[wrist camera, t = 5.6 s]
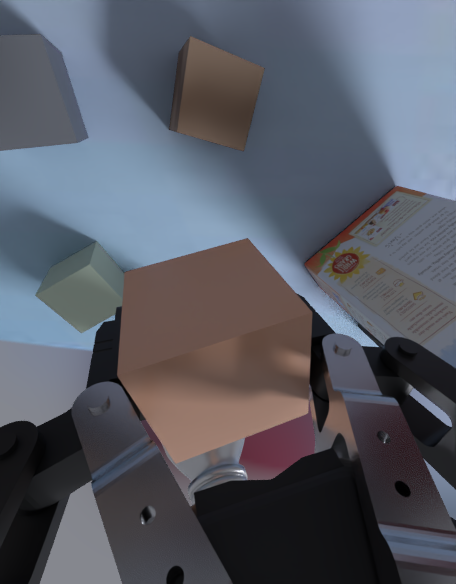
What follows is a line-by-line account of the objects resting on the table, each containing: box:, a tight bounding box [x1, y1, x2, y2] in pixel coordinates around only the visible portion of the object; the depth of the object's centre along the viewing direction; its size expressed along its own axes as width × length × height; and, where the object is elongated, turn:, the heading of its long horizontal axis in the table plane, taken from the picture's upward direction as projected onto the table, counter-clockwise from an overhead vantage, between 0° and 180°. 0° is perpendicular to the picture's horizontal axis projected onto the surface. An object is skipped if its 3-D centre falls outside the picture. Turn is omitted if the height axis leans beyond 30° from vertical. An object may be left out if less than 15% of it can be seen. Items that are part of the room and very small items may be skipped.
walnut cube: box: [169, 36, 265, 151], centre depth 20 cm, size 5×5×5 cm
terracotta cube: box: [117, 238, 312, 464], centre depth 10 cm, size 5×5×5 cm
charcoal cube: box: [0, 34, 88, 151], centre depth 17 cm, size 5×5×5 cm
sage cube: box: [35, 241, 125, 333], centre depth 25 cm, size 5×5×5 cm
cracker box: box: [305, 186, 456, 368], centre depth 26 cm, size 14×6×21 cm, turn 128°
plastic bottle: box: [162, 438, 247, 505], centre depth 24 cm, size 6×7×20 cm
